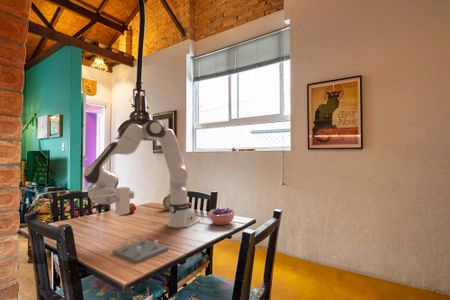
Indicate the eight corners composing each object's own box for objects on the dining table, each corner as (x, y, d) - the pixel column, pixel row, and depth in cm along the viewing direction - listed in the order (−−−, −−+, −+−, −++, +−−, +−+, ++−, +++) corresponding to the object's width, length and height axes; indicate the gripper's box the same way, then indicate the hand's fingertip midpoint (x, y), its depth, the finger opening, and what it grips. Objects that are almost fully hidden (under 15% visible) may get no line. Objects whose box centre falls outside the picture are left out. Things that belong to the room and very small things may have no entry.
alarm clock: (162, 211, 200) (163, 190, 200) (162, 209, 205) (162, 189, 205) (176, 210, 203) (176, 190, 203) (176, 208, 208) (176, 189, 208)
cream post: (124, 211, 132) (124, 186, 132) (129, 212, 129) (129, 187, 129) (115, 213, 127) (115, 188, 127) (120, 214, 125) (120, 189, 125)
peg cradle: (144, 242, 132) (144, 232, 132) (168, 249, 122) (168, 239, 122) (112, 253, 117) (112, 243, 117) (136, 263, 107) (136, 251, 107)
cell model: (239, 222, 170) (239, 205, 170) (224, 230, 153) (224, 211, 153) (218, 218, 179) (218, 202, 179) (202, 225, 162) (202, 208, 162)
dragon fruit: (125, 217, 186) (132, 215, 198) (134, 210, 186) (141, 209, 198) (119, 208, 187) (126, 206, 199) (129, 201, 188) (135, 200, 200)
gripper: (89, 192, 127) (103, 195, 119) (125, 187, 144) (140, 190, 136) (89, 205, 127) (103, 208, 119) (125, 198, 144) (140, 201, 136)
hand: (123, 198), depth 128 cm, fingers closed on cream post, 5 cm apart
